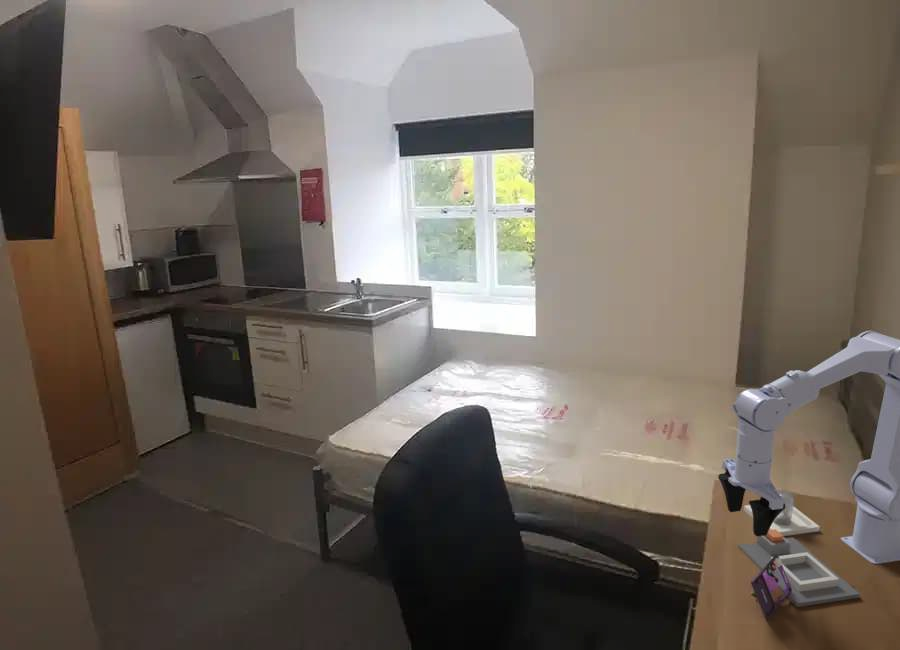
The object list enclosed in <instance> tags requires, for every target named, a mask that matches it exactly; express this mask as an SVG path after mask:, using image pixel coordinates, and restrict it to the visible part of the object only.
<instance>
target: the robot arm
mask: <svg viewBox="0 0 900 650" xmlns="http://www.w3.org/2000/svg"><path fill="white" fill-rule="evenodd" d="M859 372H863V373H870V374H876V375H878V376H879V377H880V378H881V379H882V381H884V382H885V387H884V388H885V389H884V392H883V396H882V397H883V399H882V403H881V407H880V412H879V417H878V422H877V426H876V427H877V428H876V433H875V437H874V442H873V447H872V453H871V457H870V459H865V460H863V461H860V462H859V463H858V464H857V468H856V471H855V472H854V474H853V475H852V477H851V479H850V482H849V488H850V491H851V493H852V494H853V495H855V498H854V499H855V500H854V501H855V502H856V503H857V507H856V514H855V520H854V526H853V532H852V535H851V536H841V537H840V541H842V542H843V543H845V545H846V546H849V547H850V548H851V549H852V550H853V551H854V552H856V553H858V554H859V555H860V556H862V558H864V559H865V560H867V561H868V562H869V563H871V564H873V565H878V564H884V563H891V562H897V561H900V339H898V338H896V337H892V336H889V335H885V334H882V333H879V332H878V331H875V330H866V331H863V332H862V333H861V332H860V334H858V335H857V336H855V337H854V336H853V337H851V338H850V339H849V341H848V343H847V346H846V347H845V348H844V349H841V350H840V351H839V352H837V353H835V354H834V355H832V356H830V357H829V358H827V359H825V360H824V361H822V362H821V363H819V364H817V365H815V366H814V367H812V368H811V369H809V370H808V371H803V370H799V369H795V370H789V371H787V372H786V373H785V375H783V376H781V377H780V378H778V379H776V380H773V381H772V382H769V383H768V384H767V383H766V384H764V385H763V386H762V387H760V388H759V389H757V388H754V389H753V388H748V389H745V390H743V391H742V392H740V393H739V395H737V397H736V399H735V402H733V403H732V410H733V412H734V414H735V415H736V418H737V419H736V420H737V424H738V427H737V439H736V451H735V459H734V458H725V459H724V458H723V459H722V462H721V463H722V464H721V465H722V467H721V469H722V470H724V471H725V472H724V473H719V474H718V475H717V478H718V480H719V482H720V484H721V486H722V489H723V491H724V496H725V501H726V507H727V510H728V511H729V512H730V513H734V512H735V513H737V512H741V510H742V507H743V503H744V497H745V493H746V490H747V491H749V492H752V493H753V494H755V495H757V496H759V497H760V499H754V500H752V499H751V500H749V501H748V505H750V506H751V509H752V513H753V518H752V520H753V521H752V523H753V524H752V525H753V526H752V527H753V529H752V530H753V534H754V536H755V537H758V536H764V535H767V533H768V531H769V529H770V527H771V525H772V523H773V521H774V520H775V518H776V517H777V516H778V515H779V514H780V513H781V512H782V511H783V510H784V509H785V504H784V498H783V497H781V496H780V495H779V493H778V492H777V490H778V489H777V488H776V487H775V485H774V483H773V482H772V480H771V469H772V460H773V452H774V443H775V434H776V429H778V428H780V426H781V425H782V424H783V423H784V422H785V420H786V418H787V417H789V416H790V414H791V413H792V412H793V411H795V410H797V409H799V408H801V407H803V406H805V405H806V404H808V403H810V402H812V401H814V400H816V399H817V398H818V397H819V394H820V390H821V389H823V388H825V387H828V386H830V385H832V384H834V383H836V382H839V381H841V380H844V379H846V378H849V377H850V376H853V375H856V374H857V373H859Z"/></svg>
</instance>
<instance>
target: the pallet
mask: <svg viewBox="0 0 900 650" xmlns="http://www.w3.org/2000/svg"><path fill="white" fill-rule="evenodd" d="M737 548H738V549H740V551H741V552H742V553H744V554H745V555H746V556H747V558H748V559H750V561H752V563H754V565H756V566H757V567H758V568H759V569H760V571H761V570H762V569H763V568H764V567H765V566H766V565H767V564H768V562H769V561H770V560H771V559H772V558H773V557H774V556H775V555H778V556H779V559H780V560H781V561H782V566H783V569H784V571H785V574H786V576H787V579H788V581H789V584H790V586H791V588H792V592H791V593H790V594H789V595H788V596H787V599H788V600H789V601H790V602H791V603H792V604H793V605H794V606H795V607H796V608H803V607H806V606H813V605H820V604H827V603H833V602H838V601H839V602H840V601H846V600H851V599H859V598H860V596H861V593H860V592H859V591H857V589H855V588H854V587H852V586H851V585H850V584H849V583H848V582H847V581H845V580H844V579H843V578H842V577H841V576H840V575H838V574H837V573H836V572H835V571H834V570H833V569H831V568H830V567H829V566H828V565H826V563H824V562H823V561H822V560H820V558H818V557H817V556H816V555H815V554H814V553H813V552H811V551H810V550H809V549H808V548H806V547H805V546H804V545H802V543H801V542H799V541H798V540H797V539H796V538H794V537H793V536H792V537H785V536H784V537H783V542H777V543H772V542H771V541H769V540H768V539H767V538H766V537H765V535H764V536H757V539H756V541H755V542H749V543H741V544H738V545H737ZM773 563H774V564H775V562H773ZM775 566H776V565H775ZM769 567H770V566H769ZM765 571H766V570H765ZM765 571H764V572H763V573H765ZM766 572H767V571H766ZM773 575H774V576H775V577H776V578H780V579H779V580H778V583H779V586H778V587H777V588H778V589H780V590H781V591H782V592H783V593H784V594H785V593H786V592H785V589H786V588H787V587H786V584H785V582H784V579H783V577H782V575H781V573H780V571H779V570H778V568H777V567H776V569H775V571H774V574H773Z"/></svg>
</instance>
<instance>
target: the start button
mask: <svg viewBox="0 0 900 650" xmlns="http://www.w3.org/2000/svg"><path fill="white" fill-rule="evenodd" d="M765 537H766V538H767V539H768V540H769V541H771V542H772V543H777V542H783V537H784V538H785V536H783V535H782V534H781V533H779V532H778V531H777V530H776V529H775V530H769V531H768V533H767V535H765Z"/></svg>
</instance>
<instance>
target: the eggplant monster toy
mask: <svg viewBox="0 0 900 650" xmlns="http://www.w3.org/2000/svg"><path fill="white" fill-rule="evenodd" d="M773 562H775V564H774V563H773ZM775 565H776V566H775ZM769 566H770V567H769ZM776 567H777V568H778V570H779V571H780V573H781V575H782V577H783V579H784V582H785V584H786V587H787V588H786V589H785V592H786V593H784V594H783V595H782V596H781V597H780V599H779V600H778V601H777V602H776V603H775V601H774V599H773V597H772V593H773V592H775V591H776V590H777V589H778V588H779V587H778V586H779V583H778V580H779V579H780V578H776V577H775V576H774V575H773V574H774V571H775V569H776ZM765 570H766V571H767V572H766V571H765ZM764 571H765V573H764ZM750 584H751V588H752V589H753V591H751V592H750V593H749V594H750V595H755V596H756V599H757V602H758V603H759V607H760V609H761V611H762V614H763V616H764V618H765V619H766V620H769V619H770V617H772V615H773V614H774V613H775V612H776V610H777V609H779V607H780V606H781V605H782V603H783V602H784V601H785V600H786V598H787V596H788V595H789V594H790V593H791V592H792V588H791V586H790V584H789V581H788V579H787V576H786V574H785V571H784V569H783V566H782V561H781V560H780V559H779V556H778V555H775V556H774V557H773V558H772V559H771V560H770V561H769V562H768V564H767V565H766V566H765V567H764V568H763V569H762V570H761V569H760V571H759V572H758V573H757V574H756V575H755V576H754V578H752V579H751V580H750ZM787 599H788V598H787Z"/></svg>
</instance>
